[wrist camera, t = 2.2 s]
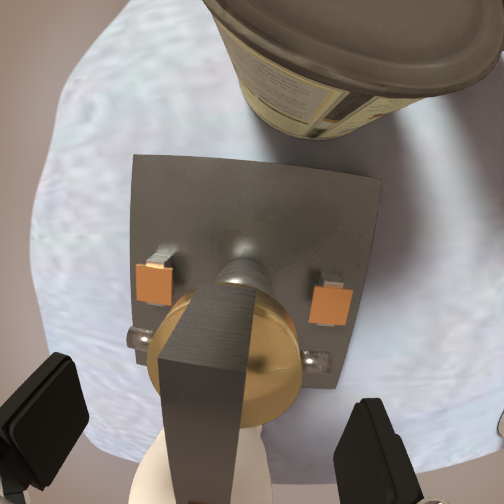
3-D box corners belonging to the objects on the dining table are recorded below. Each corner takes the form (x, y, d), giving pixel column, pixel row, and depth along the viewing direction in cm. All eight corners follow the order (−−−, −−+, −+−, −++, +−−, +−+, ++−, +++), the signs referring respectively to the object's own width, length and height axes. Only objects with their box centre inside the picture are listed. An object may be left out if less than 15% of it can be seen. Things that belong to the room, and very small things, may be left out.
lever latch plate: (372, 178, 20) (435, 186, 11) (331, 374, 24) (351, 454, 15) (144, 155, 20) (72, 151, 12) (144, 350, 25) (100, 420, 16)
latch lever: (345, 275, 12) (411, 383, 5) (310, 413, 14) (323, 529, 7) (133, 251, 12) (25, 327, 6) (142, 390, 14) (89, 491, 8)
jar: (292, 435, 26) (296, 569, 12) (206, 459, 28) (181, 572, 14) (235, 362, 24) (205, 527, 10) (144, 396, 26) (83, 520, 12)
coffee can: (289, -10, 17) (301, -146, 3) (405, 67, 18) (527, -9, 4) (206, 87, 19) (112, -17, 5) (330, 171, 20) (434, 179, 6)
